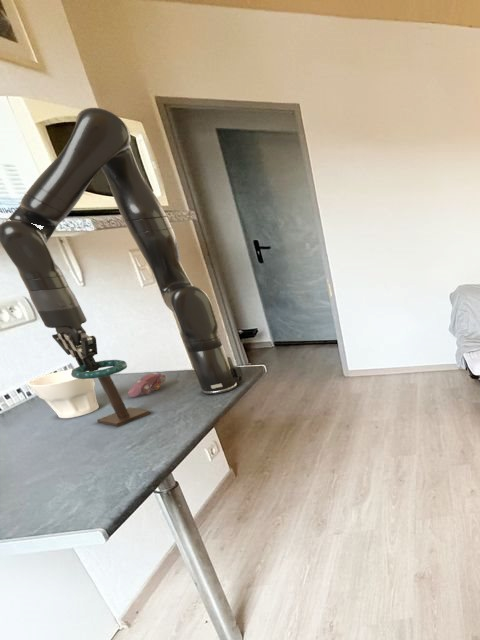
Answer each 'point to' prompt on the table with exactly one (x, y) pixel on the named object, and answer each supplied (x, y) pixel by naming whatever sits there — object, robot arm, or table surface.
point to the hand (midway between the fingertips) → (90, 369)
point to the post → (118, 406)
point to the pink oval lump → (147, 384)
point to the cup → (66, 393)
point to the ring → (83, 374)
